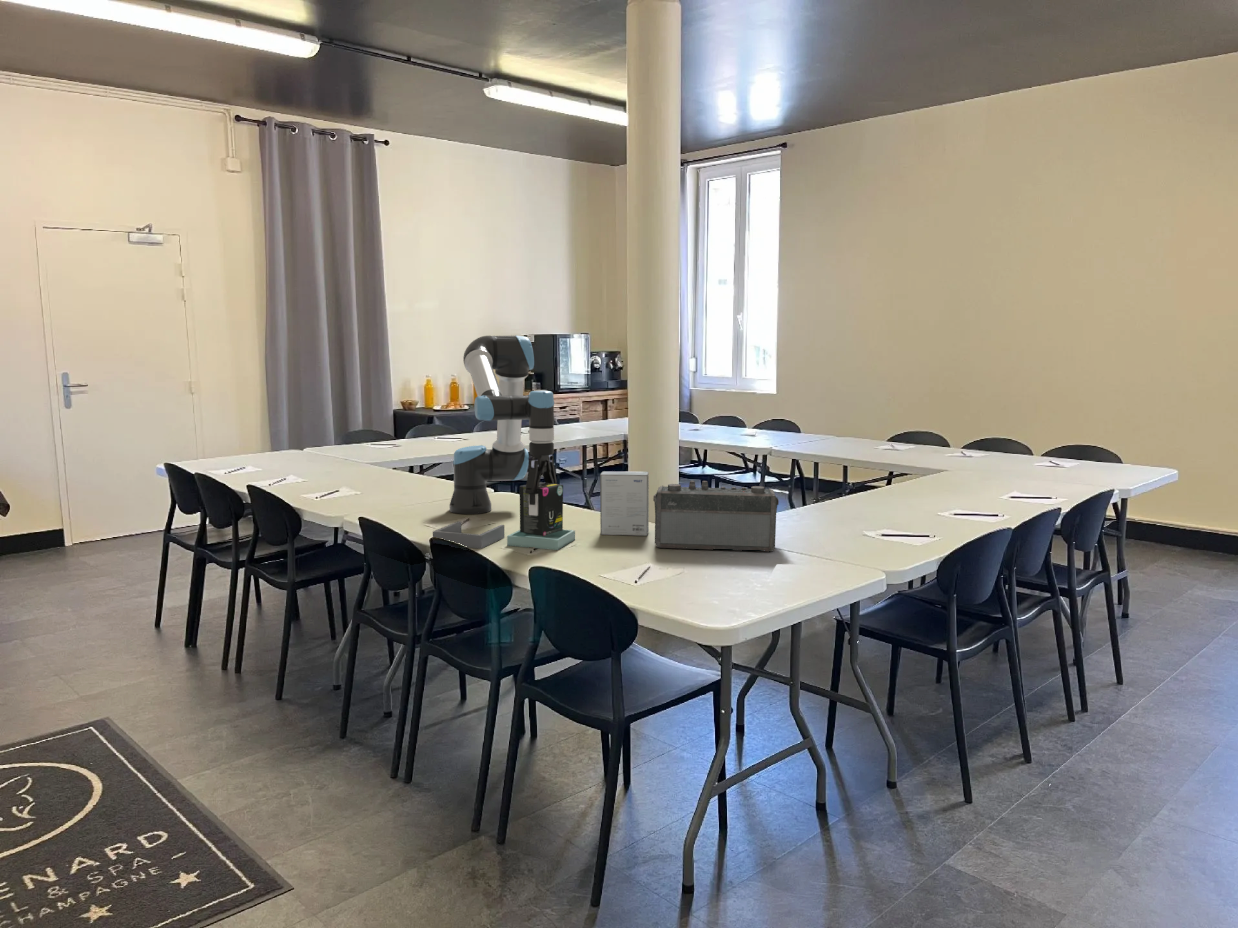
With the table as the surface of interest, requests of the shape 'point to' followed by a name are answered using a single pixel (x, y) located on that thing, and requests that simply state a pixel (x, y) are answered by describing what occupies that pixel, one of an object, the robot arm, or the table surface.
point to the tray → (541, 539)
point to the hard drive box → (624, 503)
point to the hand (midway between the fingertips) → (541, 511)
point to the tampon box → (542, 510)
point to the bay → (469, 535)
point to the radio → (715, 517)
